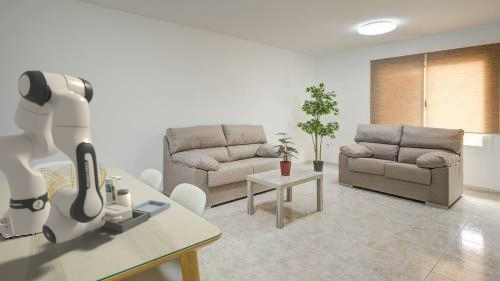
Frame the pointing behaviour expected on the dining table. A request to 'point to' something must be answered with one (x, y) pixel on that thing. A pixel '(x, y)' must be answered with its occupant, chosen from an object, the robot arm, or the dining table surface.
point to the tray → (152, 207)
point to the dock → (138, 219)
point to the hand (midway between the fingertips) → (125, 204)
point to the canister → (123, 201)
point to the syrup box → (112, 187)
